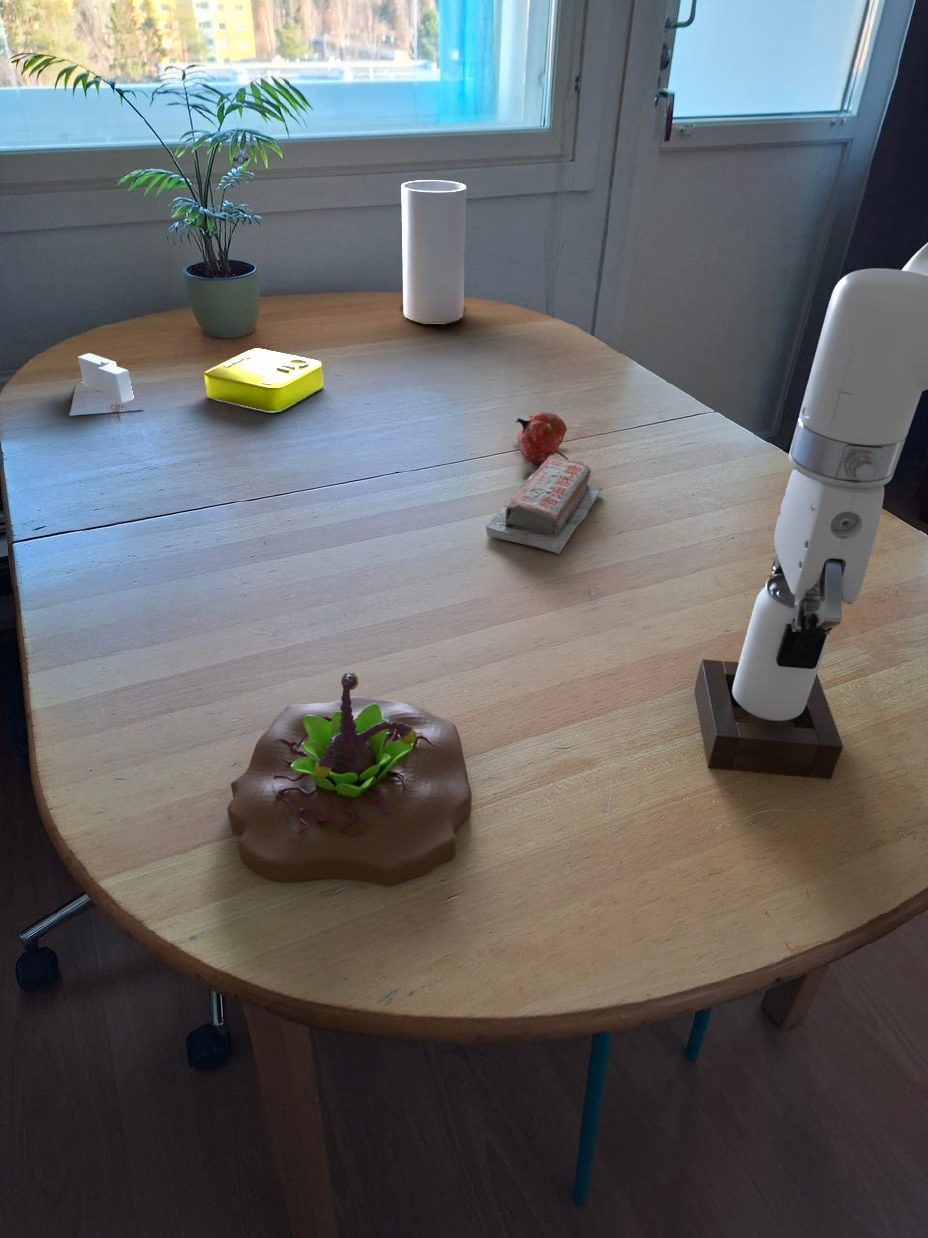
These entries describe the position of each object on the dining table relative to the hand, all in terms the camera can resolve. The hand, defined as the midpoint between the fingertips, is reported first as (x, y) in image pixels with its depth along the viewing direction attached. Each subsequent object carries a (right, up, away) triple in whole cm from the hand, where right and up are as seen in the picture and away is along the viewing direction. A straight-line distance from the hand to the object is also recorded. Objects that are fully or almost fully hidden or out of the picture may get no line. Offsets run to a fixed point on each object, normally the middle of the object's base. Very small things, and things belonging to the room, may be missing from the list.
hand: (786, 638), depth 75 cm
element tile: (-61, +40, +72) cm, 102 cm away
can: (0, -6, +4) cm, 7 cm away
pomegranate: (-16, +25, +53) cm, 61 cm away
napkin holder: (-87, +38, +69) cm, 117 cm away
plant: (-37, -13, -1) cm, 40 cm away
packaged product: (-17, +15, +40) cm, 46 cm away
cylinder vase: (-34, +65, +108) cm, 131 cm away
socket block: (0, -9, +6) cm, 11 cm away
